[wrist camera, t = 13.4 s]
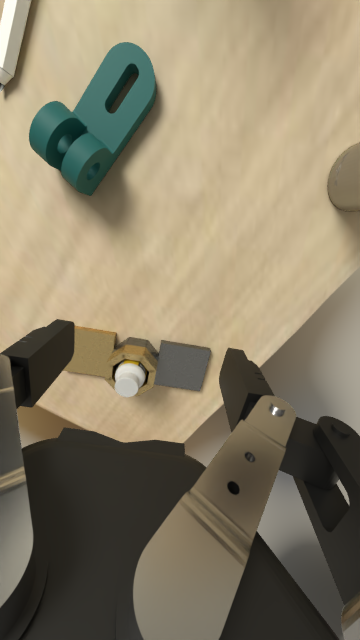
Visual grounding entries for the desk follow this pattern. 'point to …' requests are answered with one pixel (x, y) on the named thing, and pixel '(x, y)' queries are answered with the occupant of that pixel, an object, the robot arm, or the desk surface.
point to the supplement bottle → (129, 377)
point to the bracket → (96, 119)
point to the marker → (11, 36)
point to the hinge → (139, 359)
